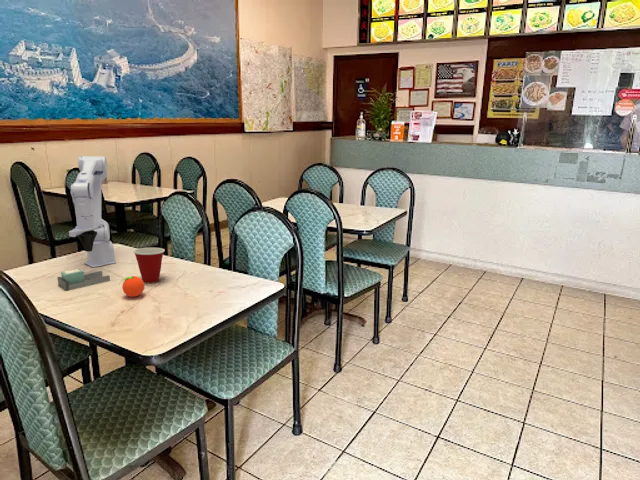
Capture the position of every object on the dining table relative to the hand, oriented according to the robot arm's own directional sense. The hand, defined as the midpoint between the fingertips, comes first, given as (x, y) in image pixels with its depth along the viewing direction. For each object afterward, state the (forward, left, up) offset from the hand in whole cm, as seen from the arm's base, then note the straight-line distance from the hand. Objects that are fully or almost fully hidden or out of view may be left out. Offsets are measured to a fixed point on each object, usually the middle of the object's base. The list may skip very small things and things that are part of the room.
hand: (88, 251), depth 167 cm
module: (+8, +5, -10) cm, 14 cm away
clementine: (-2, +29, -10) cm, 31 cm away
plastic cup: (-14, +19, -10) cm, 26 cm away
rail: (+4, +6, -10) cm, 12 cm away
